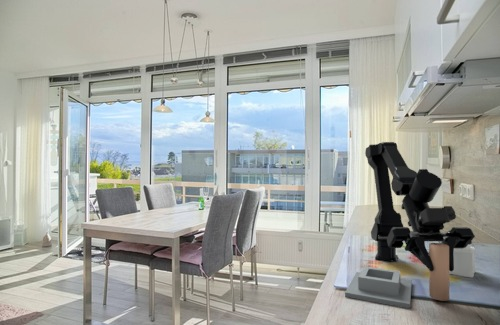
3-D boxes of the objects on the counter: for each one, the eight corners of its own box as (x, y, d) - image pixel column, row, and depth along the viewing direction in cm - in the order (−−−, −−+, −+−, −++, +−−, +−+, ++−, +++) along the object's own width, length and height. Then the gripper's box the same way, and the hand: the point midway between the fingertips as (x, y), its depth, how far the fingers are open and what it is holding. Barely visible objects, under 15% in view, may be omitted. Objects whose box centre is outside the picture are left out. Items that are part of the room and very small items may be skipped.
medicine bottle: (447, 266, 99) (446, 227, 98) (475, 271, 94) (475, 230, 94) (443, 273, 93) (442, 231, 93) (472, 278, 88) (472, 234, 88)
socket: (356, 275, 92) (356, 261, 92) (411, 283, 85) (411, 268, 85) (345, 296, 77) (344, 279, 77) (409, 308, 71) (409, 290, 71)
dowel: (429, 292, 77) (428, 242, 77) (448, 295, 75) (448, 244, 75) (429, 298, 74) (429, 246, 74) (450, 302, 72) (449, 248, 72)
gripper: (390, 194, 79) (411, 252, 68) (469, 194, 78) (503, 253, 67) (379, 220, 87) (396, 276, 76) (451, 220, 86) (478, 276, 75)
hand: (442, 270), depth 73 cm, fingers closed on dowel, 4 cm apart
